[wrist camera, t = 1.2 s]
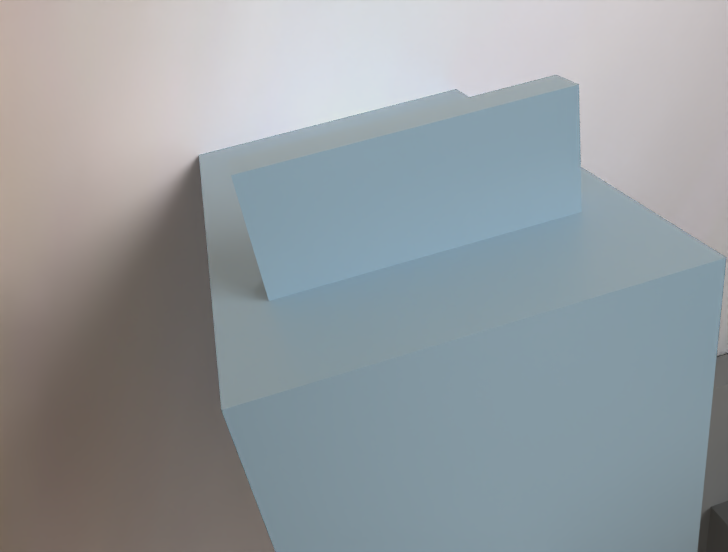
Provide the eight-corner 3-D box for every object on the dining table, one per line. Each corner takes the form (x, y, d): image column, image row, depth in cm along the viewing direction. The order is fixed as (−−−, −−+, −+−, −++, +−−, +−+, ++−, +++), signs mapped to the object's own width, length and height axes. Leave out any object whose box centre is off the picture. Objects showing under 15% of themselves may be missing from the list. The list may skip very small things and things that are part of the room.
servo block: (445, 6, 10) (837, 141, 4) (494, 432, 14) (722, 801, 8) (172, 72, 9) (165, 332, 4) (307, 492, 14) (406, 930, 8)
